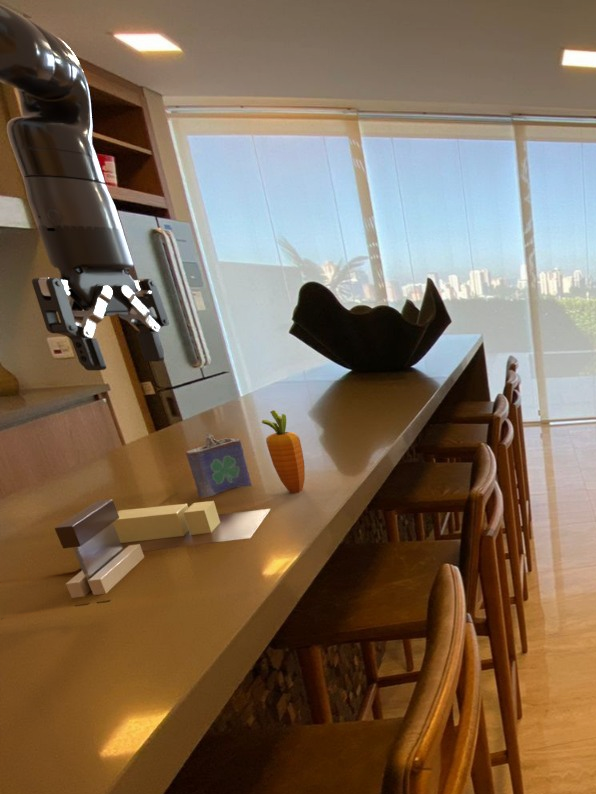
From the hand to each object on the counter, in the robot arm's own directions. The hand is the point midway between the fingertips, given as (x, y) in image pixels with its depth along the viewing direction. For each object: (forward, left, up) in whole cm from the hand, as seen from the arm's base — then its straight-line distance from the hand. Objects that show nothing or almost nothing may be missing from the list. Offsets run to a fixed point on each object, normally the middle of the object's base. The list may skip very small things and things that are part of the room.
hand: (127, 365), depth 73 cm
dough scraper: (-3, -14, -24) cm, 28 cm away
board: (+1, -1, -24) cm, 25 cm away
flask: (0, +19, -25) cm, 31 cm away
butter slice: (+3, -1, -23) cm, 24 cm away
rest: (-3, -14, -24) cm, 28 cm away
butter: (-3, -1, -23) cm, 23 cm away
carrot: (+12, +13, -25) cm, 31 cm away
